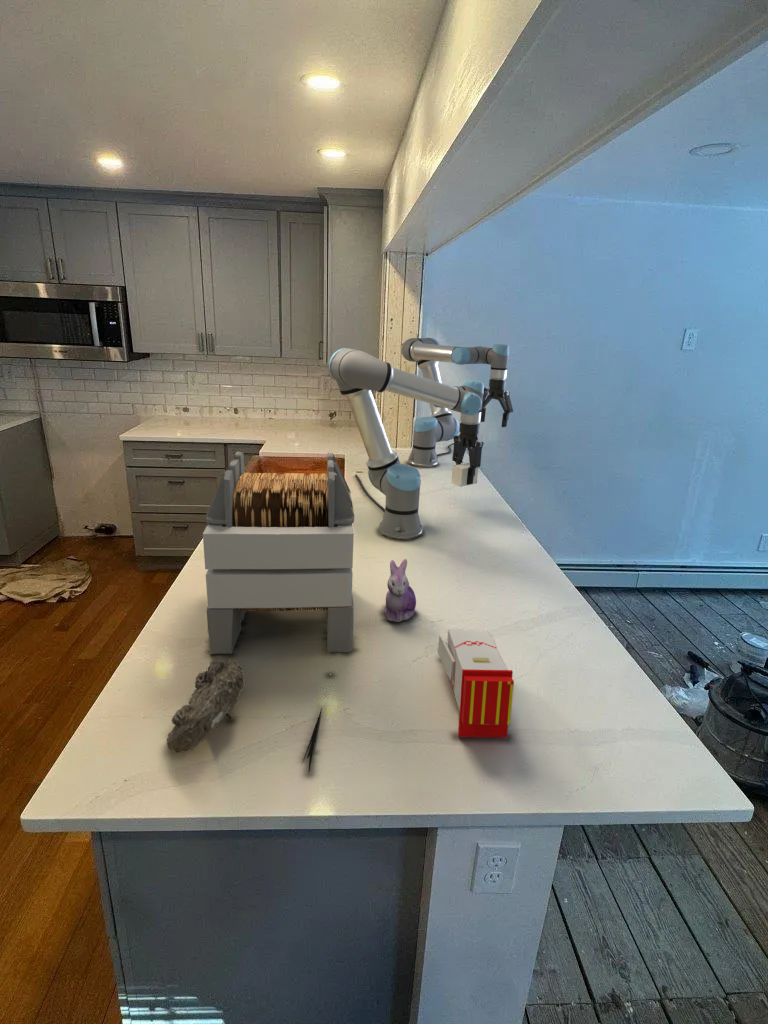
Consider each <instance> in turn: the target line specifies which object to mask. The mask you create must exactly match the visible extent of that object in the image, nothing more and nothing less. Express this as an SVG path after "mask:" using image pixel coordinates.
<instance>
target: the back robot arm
mask: <svg viewBox="0 0 768 1024" xmlns="http://www.w3.org/2000/svg"><path fill="white" fill-rule="evenodd" d="M400 351H401V355H402V357H403V358H404V359H405V360H406V361H408V362H413V363H416V364H417V368H418V369H420V370H421V373H422V377H424V378H427V379H430V380H434V381H437V382H440V383H443V382H442V377H441V374H440V370H439V364H440V362H441V363H450V364H455V365H459V366H463V365H481V364H482V365H490V371H489V378H490V379H489V380H488V387H484V395H483V401H482V410H481V419H480V422H479V423H485V422H486V414H487V413H486V411H487V408H486V406H487V405H488V404H489V403H490V402H491V401H492V400H495V401H496V400H497V401H498V403H499V405H500V406H501V408H502V410H503V412H502V419H501V428H507V424H508V420H509V418H510V414H511V413H513V412H514V408H513V404H512V401H511V396H510V394H511V392H510V390H505V388H506V383H507V380H506V379H507V375H508V374H507V373H508V363H509V357H510V346H509V344H507V343H506V344H505V343H494V344H493V345H492V347H487V346H481V345H479V346H478V345H477V346H472V347H471V346H455V345H444V344H443V345H442V344H441V343H440V342H439V341H438V339H436V338H433V337H411V338H408V339H406V340H405V341H404V342H403V343H402V346H401V350H400ZM428 404H429V408H430V411H431V412H430V413H431V415H430V416H422V417H418V418H416V419H415V420H414V422H413V431H412V433H413V434H412V449H411V451H410V454H409V456H408V460H407V463H408V465H409V466H412V467H417V468H433V467H437V466H438V465H439V460H438V459H439V458H438V457H439V456H442V455H443V456H445V455H449V454H450V453H451V452H452V449H451V447H452V446H454V442H452V443H450V444H448V445H447V448H448V450H449V451H447V452H441V453H438V454H437V450H436V445H437V444H436V443H440V442H449V441H451V440H454V436H458V434H459V433H460V432H459V427H460V422H459V421H458V419H457V418H456V417H453V413H452V412H451V410H449V409H447V408H444V407H443V408H441V407H435V406H434V405H433V404H430V403H428Z"/></svg>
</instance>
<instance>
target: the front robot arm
mask: <svg viewBox="0 0 768 1024" xmlns="http://www.w3.org/2000/svg"><path fill="white" fill-rule="evenodd" d="M328 371H329V373H330V376H331V377H332V379H333V380H334V381H335V382H336V384H337V387H338V390H339V393H340V395H341V396H343V397H345V398H346V399H347V401H348V404H349V407H350V410H351V412H352V415H353V418H354V421H355V423H356V426H357V430H358V432H359V434H360V438H361V441H362V443H363V446H364V448H365V452H366V454H367V456H368V460H367V461H366V467H367V476H368V479H369V481H370V484H371V485H372V487H374V488H375V489H376V490H377V491H379V492H380V493H382V494H383V495H384V496H385V504H384V505H385V507H383V506H382V505H381V504H380V503H378V501H376V500H375V498H373V497H372V495H371V494H370V493H369V491H367V490H366V488H365V486H364V484H363V483H362V481H361V479H360V478H359V476H358V474H354V477H355V478H356V480H357V482H358V484H359V486H360V488H361V489H362V491H363V493H365V495H366V496H367V498H369V499H370V500H371V502H373V503H374V504H375V505H376V506H377V507H378V508H379V509H380V510H381V511H383V515H382V519H381V522H379V526H378V533H379V534H380V535H381V536H382V537H385V538H387V539H389V540H395V541H410V540H415V539H418V538H420V537H421V536H422V535H423V525H422V524H421V518H420V515H419V507H420V506H419V505H420V496H421V495H420V494H421V493H420V492H421V483H422V480H421V472H420V471H419V470H418V468H416V466H412V465H410V464H406V463H405V464H403V463H401V461H400V458H399V456H398V452H396V451H394V450H392V448H391V445H390V442H389V439H388V435H387V434H386V433H387V432H386V429H385V427H384V424H383V421H382V419H381V415H380V412H379V409H378V406H377V403H376V401H375V397H374V395H373V392H378V393H381V394H383V393H384V392H388V393H393V394H395V395H399V396H402V397H406V398H409V399H413V400H416V401H420V402H423V403H426V404H429V403H430V404H433V405H434V406H435V407H441V408H443V407H444V408H447V409H448V410H449V411H453V412H457V413H460V417H459V421H460V422H459V432H458V433H459V435H458V434H457V436H454V439H453V443H454V445H453V448H452V449H453V450H452V457H451V458H452V459H451V461H452V462H455V465H459V464H464V461H463V460H464V458H465V454H466V450H467V451H468V461H469V462H468V463H470V467H469V468H468V475H467V486H470V485H469V484H471V485H474V484H473V477H474V476H475V470H476V468H478V467H479V468H480V467H481V464H482V454H483V453H482V452H483V447H484V444H485V443H484V442H483V441H481V440H479V437H478V436H479V434H480V429H481V424H480V423H481V422H480V419H481V410H482V401H483V395H484V388H485V385H484V382H483V381H482V380H477V379H466V380H464V381H463V383H462V385H459V386H458V385H456V386H455V385H454V386H453V385H449V384H446V383H443V382H442V383H440V382H437V381H434V380H430V379H427V378H424V377H423V376H421V375H417V374H414V373H412V372H408V371H405V370H402V369H400V368H399V369H398V368H395V367H393V366H392V364H391V363H390V362H387V361H384V360H381V359H379V358H378V357H375V356H373V355H371V354H369V353H367V352H365V351H363V350H358V349H355V348H353V347H343V348H339V349H338V350H336V351H335V352H334V353H333V354H332V355H331V357H330V358H329V361H328ZM372 391H373V392H372ZM430 404H429V405H430ZM479 468H478V469H479Z"/></svg>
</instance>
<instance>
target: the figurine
mask: <svg viewBox="0 0 768 1024" xmlns="http://www.w3.org/2000/svg"><path fill="white" fill-rule="evenodd" d="M407 567H408V559H406V558H404V559H403V560H402V561H401V563H400V565H399V566H398V565H397V563H396V562H395V561H394V560H393V559H391V560H390V561H389V570H390V576H389V578H388V579H387V589H388V591H387V592H386V594H385V595H386V596H385V607H384V615H385V616H386V620H387V621H391V622H395V623H400V622H402V621H406V620H409V619H410V618H411V617H413V616H414V615H415V610H416V606H417V597H416V593H415V591H414V590H413V587H411V586H410V582H409V579H408V577H407V574H406V571H407Z"/></svg>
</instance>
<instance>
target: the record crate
mask: <svg viewBox="0 0 768 1024" xmlns="http://www.w3.org/2000/svg"><path fill="white" fill-rule="evenodd" d="M244 455H245V454H244V451H242V452H241V451H236V452H235V454H234V456H233V458H232V459H230V463H229V465H228V467H227V469H226V470H224V473H223V475H222V478H221V479H220V482H219V484H218V487H217V489H216V491H215V494H214V495H213V497H212V500H211V502H210V505H209V507H208V509H207V511H206V515H205V523H206V524H207V525H206V527H205V529H204V531H203V533H202V543H203V558H204V569H205V570H206V573H205V584H206V587H205V588H206V598H207V599H206V601H207V607H206V623H207V634H208V641H209V642H208V643H209V650H208V653H209V655H216V654H217V655H218V654H221V655H222V654H223V655H226V654H227V655H228V654H230V655H231V654H232V653H233V650H234V648H235V647H236V643H237V641H238V638H239V636H240V634H241V630H242V626H241V625H242V623H241V622H243V621H244V618H245V615H246V612H272V611H273V612H279V611H280V612H284V611H286V612H288V611H289V612H291V611H292V612H293V611H294V612H295V611H303V612H304V611H322V610H323V611H326V636H327V637H326V641H327V645H326V646H327V652H329V653H330V652H332V653H333V652H343V653H349V652H351V651H352V650H354V617H355V616H354V614H355V607H354V598H353V575H354V573H353V566H354V563H353V562H354V537H355V536H354V535H355V532H354V527H353V524H354V522H355V511H354V506H353V505H354V504H353V500H352V495H351V489H350V487H349V485H348V483H347V480H346V479H345V476H344V474H343V472H342V470H341V467H340V465H339V463H338V461H337V459H336V457H335V455H334V453H333V452H327V453H326V456H327V457H326V468H327V469H326V473H320V474H318V473H307V474H306V473H303V472H302V473H299V472H298V473H297V472H294V473H293V472H292V473H291V472H290V473H288V472H283V473H276V472H273V473H271V472H263V473H262V472H259V473H258V472H253V473H252V472H245V468H246V467H245V456H244Z"/></svg>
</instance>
